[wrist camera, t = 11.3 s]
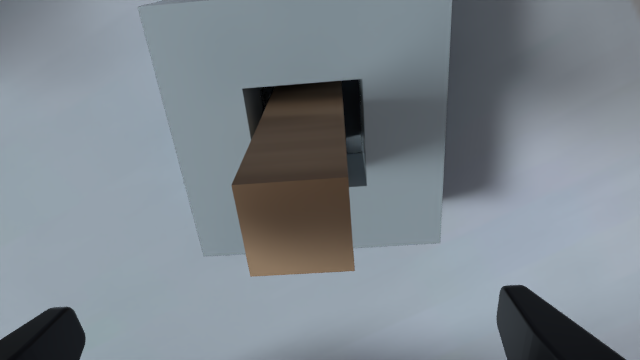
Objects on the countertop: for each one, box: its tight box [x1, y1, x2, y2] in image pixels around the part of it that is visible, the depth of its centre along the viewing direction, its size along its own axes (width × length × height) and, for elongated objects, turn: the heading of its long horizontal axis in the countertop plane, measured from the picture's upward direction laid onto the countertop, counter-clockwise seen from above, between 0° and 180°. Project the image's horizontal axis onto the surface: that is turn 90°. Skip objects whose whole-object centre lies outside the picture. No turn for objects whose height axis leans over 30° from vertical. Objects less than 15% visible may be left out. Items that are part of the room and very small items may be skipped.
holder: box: [138, 0, 452, 256], centre depth 19 cm, size 11×11×4 cm
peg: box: [231, 81, 355, 276], centre depth 16 cm, size 3×3×10 cm
